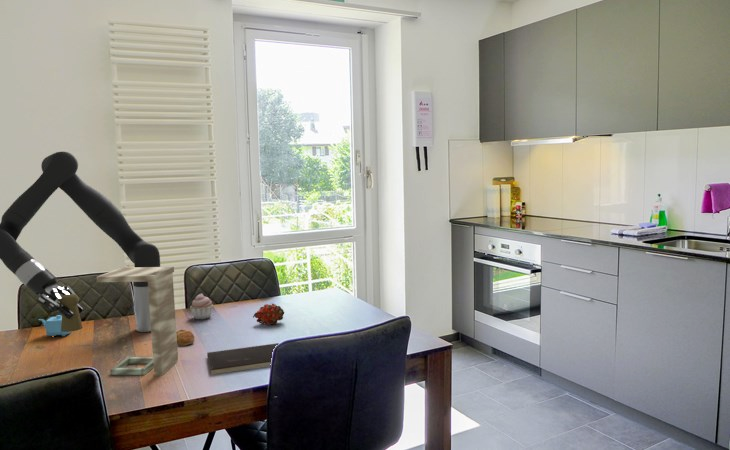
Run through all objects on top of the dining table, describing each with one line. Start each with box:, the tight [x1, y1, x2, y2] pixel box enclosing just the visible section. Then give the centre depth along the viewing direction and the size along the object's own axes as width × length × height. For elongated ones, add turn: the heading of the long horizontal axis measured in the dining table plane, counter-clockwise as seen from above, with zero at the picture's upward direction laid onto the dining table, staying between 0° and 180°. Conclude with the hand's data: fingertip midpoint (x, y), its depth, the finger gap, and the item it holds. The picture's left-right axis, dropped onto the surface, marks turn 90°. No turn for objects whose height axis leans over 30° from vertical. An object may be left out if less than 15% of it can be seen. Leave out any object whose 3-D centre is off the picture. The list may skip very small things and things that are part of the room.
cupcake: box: [189, 293, 214, 320], centre depth 221 cm, size 9×9×10 cm
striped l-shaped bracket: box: [96, 266, 179, 377], centre depth 165 cm, size 17×14×30 cm
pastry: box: [176, 329, 195, 347], centre depth 191 cm, size 9×7×4 cm
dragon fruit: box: [252, 303, 285, 326], centre depth 210 cm, size 8×8×12 cm
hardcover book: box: [206, 342, 280, 375], centre depth 171 cm, size 16×23×2 cm
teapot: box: [38, 314, 71, 337], centre depth 202 cm, size 12×6×8 cm, turn 102°
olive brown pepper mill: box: [61, 293, 83, 333], centre depth 171 cm, size 6×6×11 cm
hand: (76, 314), depth 171 cm, fingers closed on olive brown pepper mill, 4 cm apart
